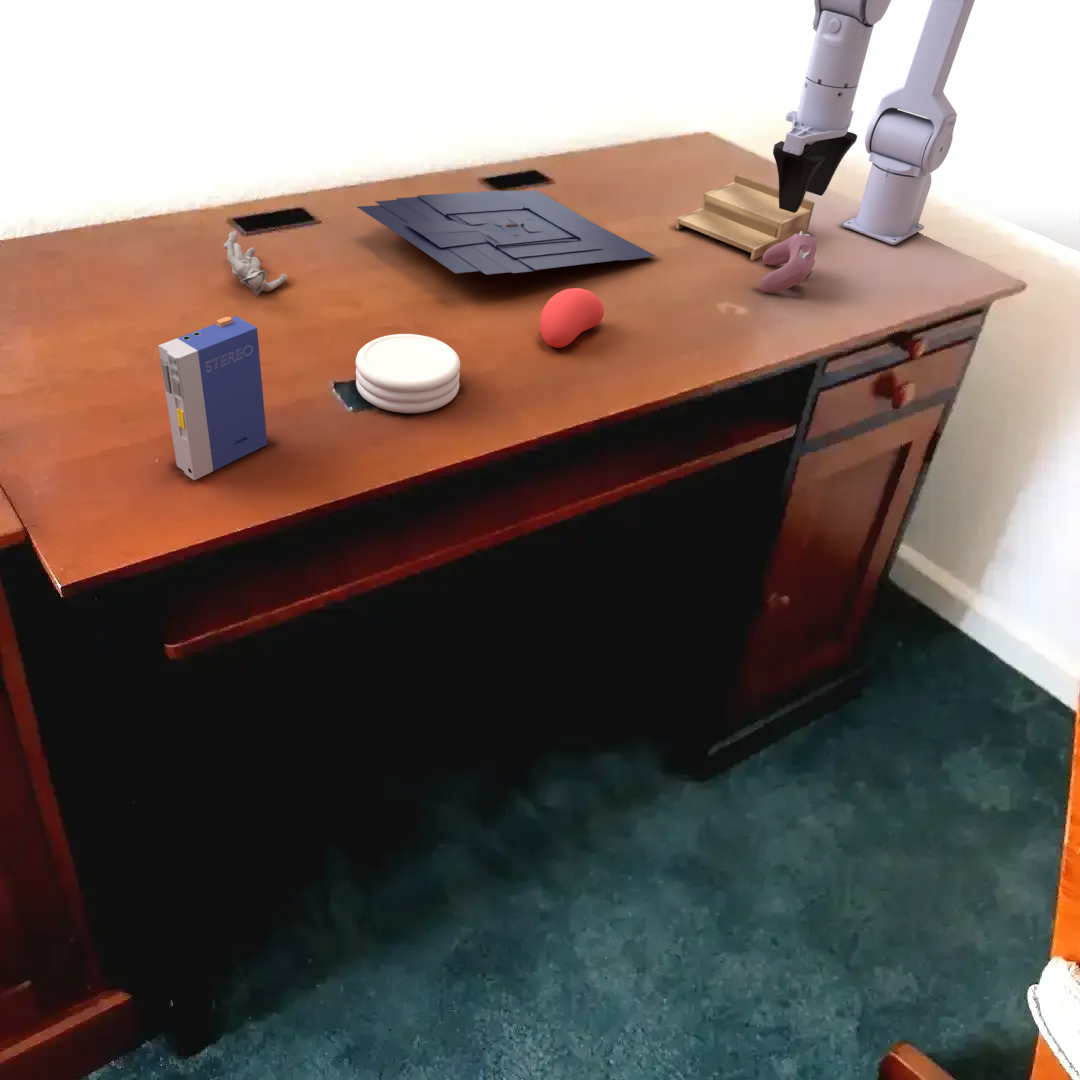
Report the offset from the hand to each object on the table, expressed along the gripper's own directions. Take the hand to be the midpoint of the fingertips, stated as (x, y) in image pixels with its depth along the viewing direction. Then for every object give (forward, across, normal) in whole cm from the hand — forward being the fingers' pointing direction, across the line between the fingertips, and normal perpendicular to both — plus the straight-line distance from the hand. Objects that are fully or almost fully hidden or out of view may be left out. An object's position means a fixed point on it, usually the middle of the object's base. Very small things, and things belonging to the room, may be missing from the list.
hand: (801, 201), depth 125 cm
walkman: (+10, +70, -21) cm, 74 cm away
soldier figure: (+10, +46, -44) cm, 65 cm away
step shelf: (+10, -11, -11) cm, 18 cm away
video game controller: (+10, 0, 0) cm, 11 cm away
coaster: (+10, +51, -17) cm, 55 cm away
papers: (+10, +17, -30) cm, 36 cm away
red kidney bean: (+10, +30, -12) cm, 34 cm away
